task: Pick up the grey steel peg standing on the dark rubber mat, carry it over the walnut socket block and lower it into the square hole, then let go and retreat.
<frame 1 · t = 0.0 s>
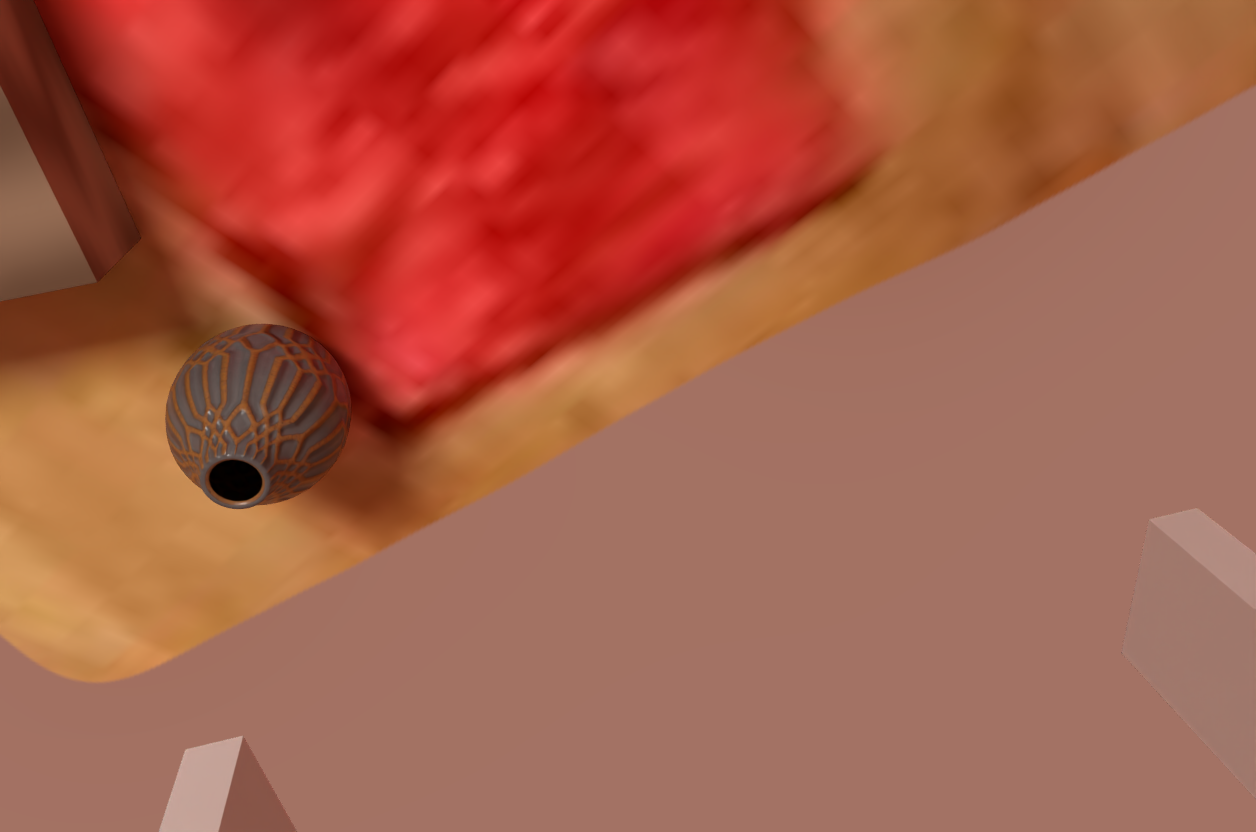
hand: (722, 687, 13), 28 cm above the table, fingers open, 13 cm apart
vase: (278, 372, 39), on the table
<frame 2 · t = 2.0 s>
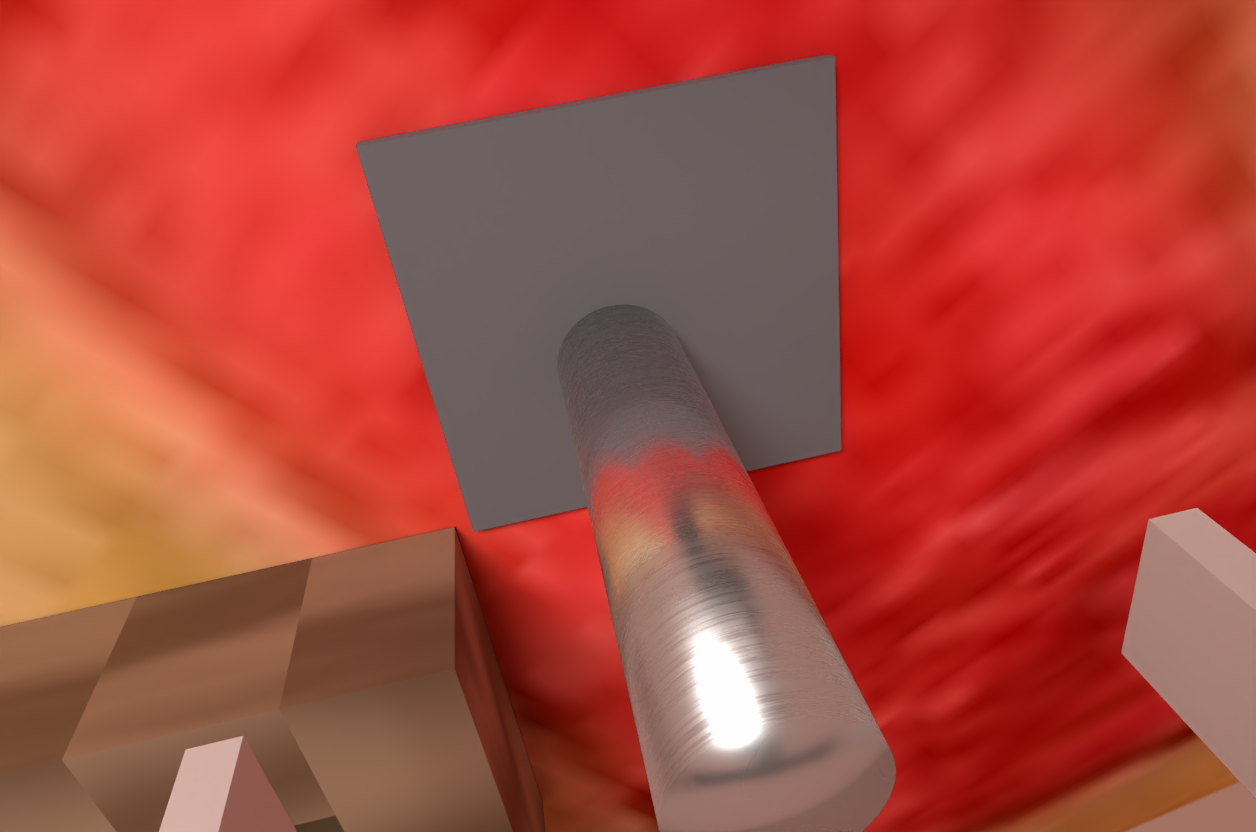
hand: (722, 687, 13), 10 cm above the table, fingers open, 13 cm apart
peg: (619, 362, 21), resting on mat
block: (303, 728, 26), on the table
mat: (631, 313, 21), on the table
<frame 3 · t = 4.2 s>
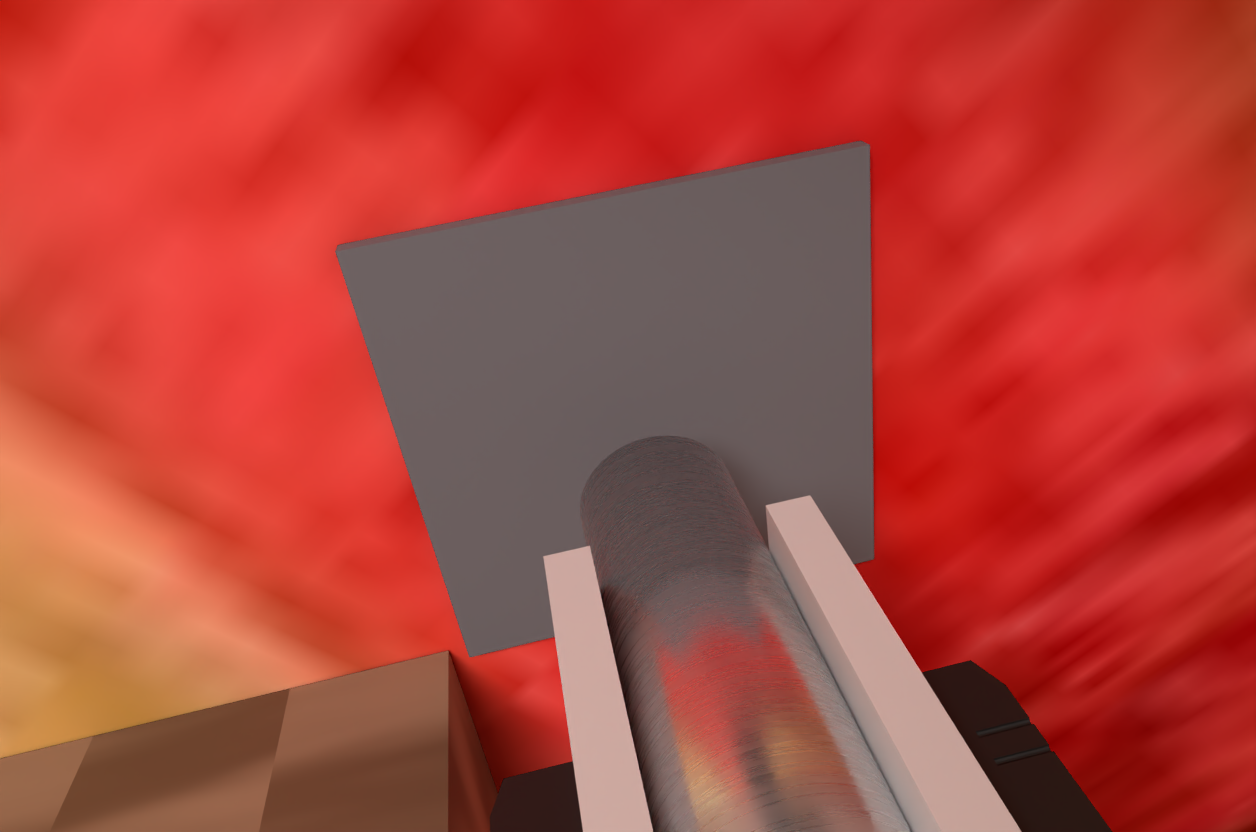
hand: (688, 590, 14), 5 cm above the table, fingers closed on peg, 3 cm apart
peg: (657, 502, 17), point 2 cm above the table, touching gripper
mat: (643, 420, 19), on the table
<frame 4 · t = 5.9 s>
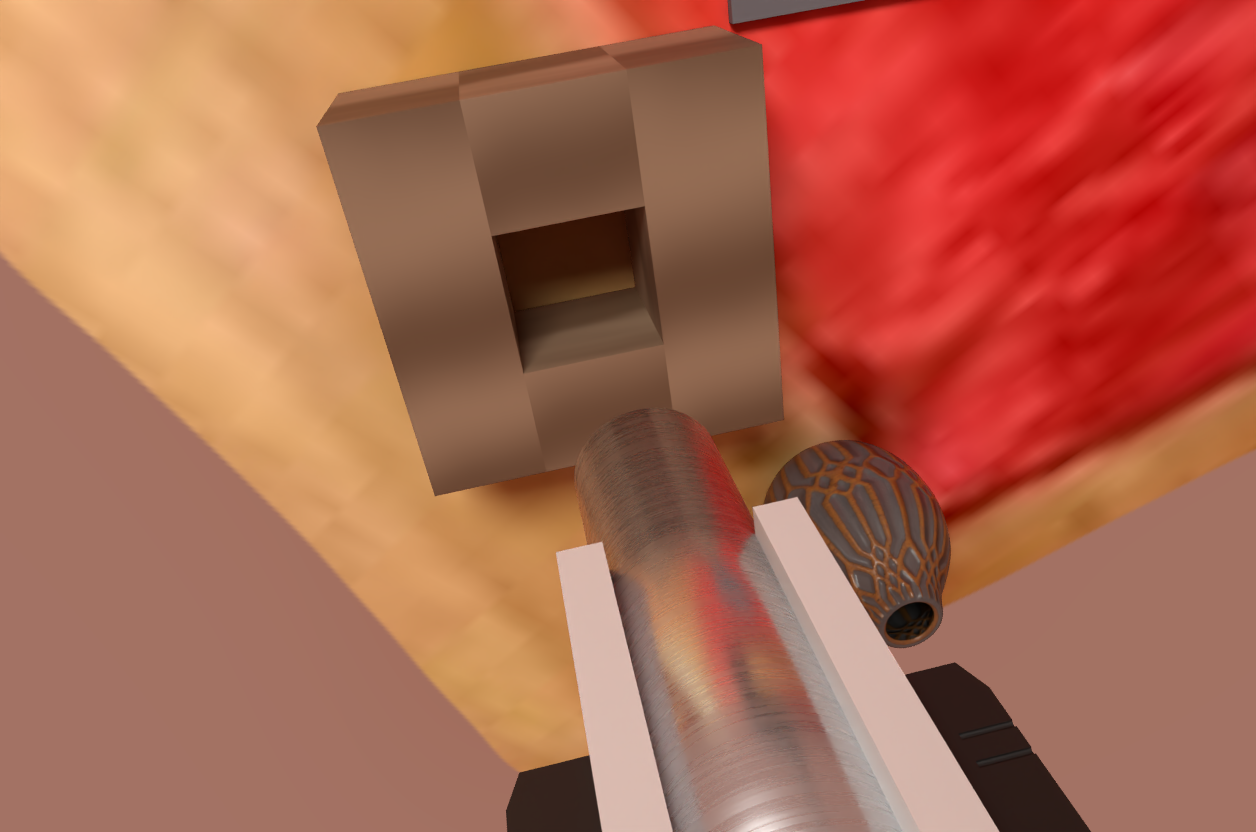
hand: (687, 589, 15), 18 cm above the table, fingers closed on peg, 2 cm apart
peg: (647, 472, 18), point 15 cm above the table, touching gripper
block: (563, 240, 30), on the table
vase: (818, 481, 38), on the table
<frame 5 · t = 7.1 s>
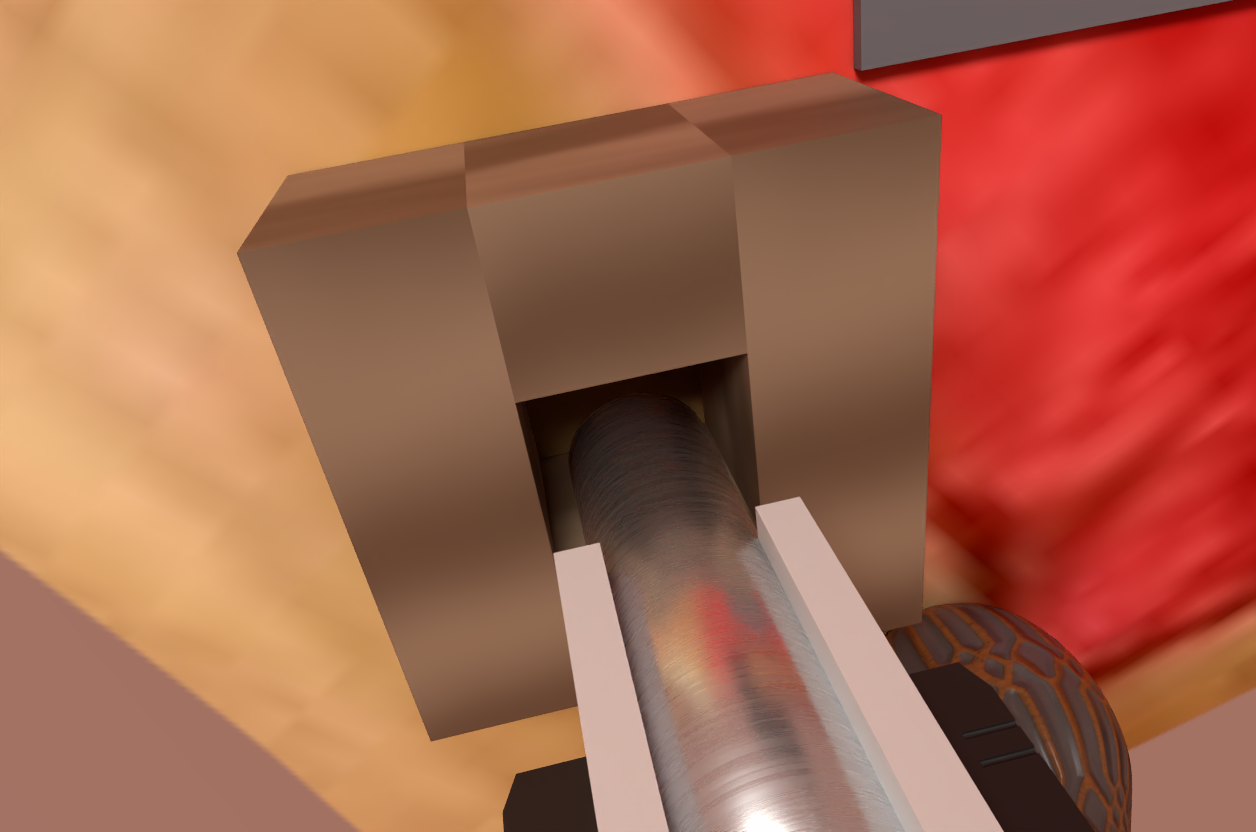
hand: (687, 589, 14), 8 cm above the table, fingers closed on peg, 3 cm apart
peg: (639, 455, 18), point 4 cm above the table, touching gripper
block: (609, 366, 22), on the table
vase: (927, 644, 29), on the table
when the fingers open (6 cm above the table, at t = 8.1 s): peg drops 2 cm, resting in block.
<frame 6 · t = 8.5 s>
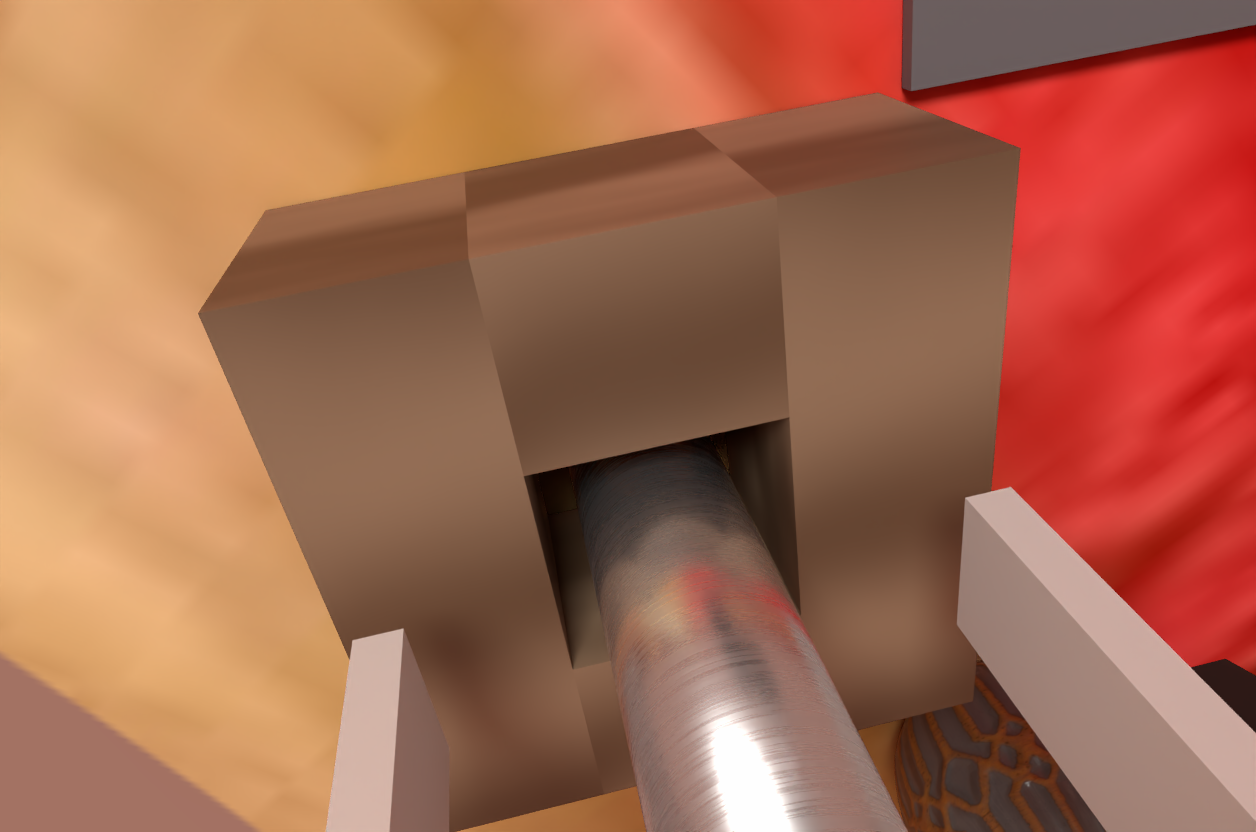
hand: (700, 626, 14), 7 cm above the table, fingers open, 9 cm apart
peg: (625, 416, 20), resting in block
block: (625, 415, 20), on the table
vase: (964, 701, 27), on the table
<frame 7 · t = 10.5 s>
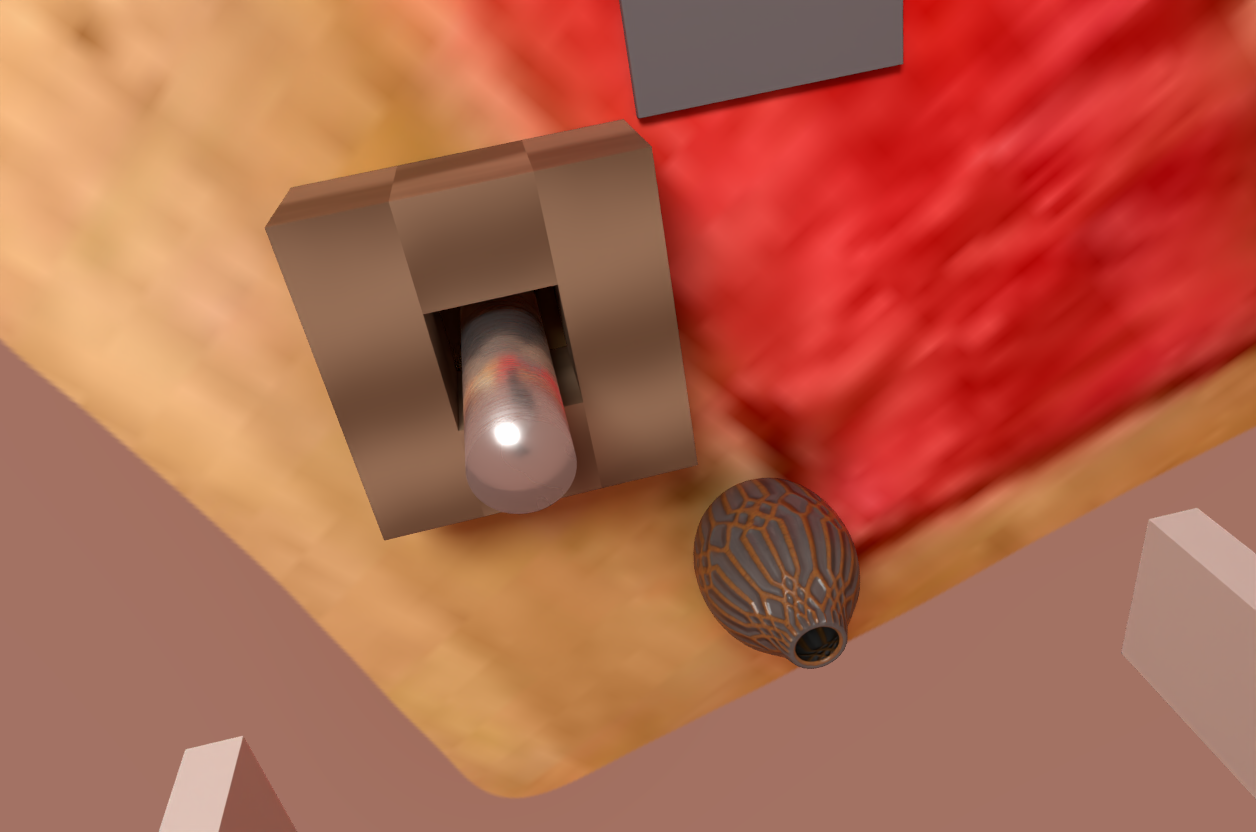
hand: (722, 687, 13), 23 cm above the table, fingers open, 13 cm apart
peg: (498, 307, 34), resting in block
block: (499, 307, 34), on the table
vase: (748, 515, 41), on the table
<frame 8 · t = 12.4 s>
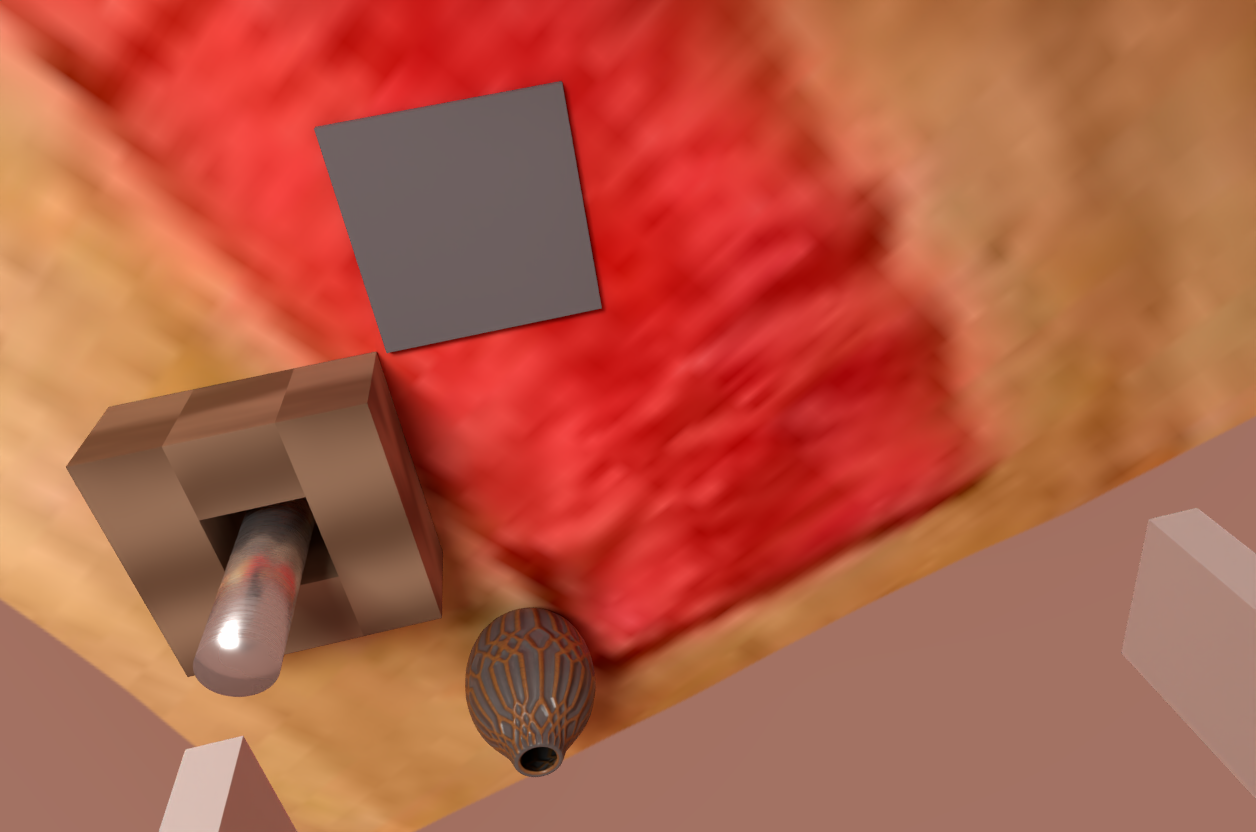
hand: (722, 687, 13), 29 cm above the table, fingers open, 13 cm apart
peg: (289, 486, 42), resting in block
block: (289, 486, 42), on the table
vase: (525, 632, 50), on the table
mat: (469, 222, 37), on the table
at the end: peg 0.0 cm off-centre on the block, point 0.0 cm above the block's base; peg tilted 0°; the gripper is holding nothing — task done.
